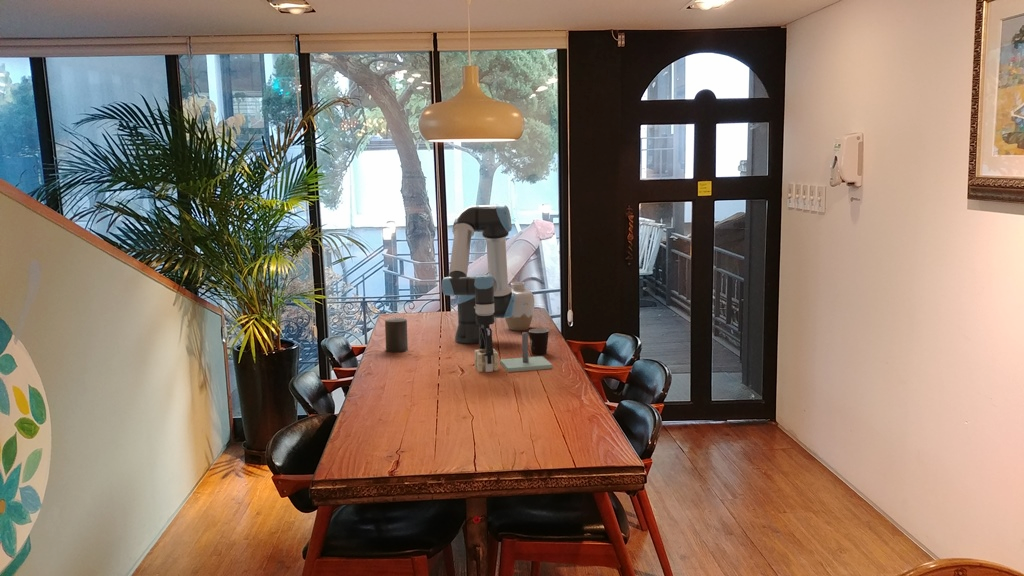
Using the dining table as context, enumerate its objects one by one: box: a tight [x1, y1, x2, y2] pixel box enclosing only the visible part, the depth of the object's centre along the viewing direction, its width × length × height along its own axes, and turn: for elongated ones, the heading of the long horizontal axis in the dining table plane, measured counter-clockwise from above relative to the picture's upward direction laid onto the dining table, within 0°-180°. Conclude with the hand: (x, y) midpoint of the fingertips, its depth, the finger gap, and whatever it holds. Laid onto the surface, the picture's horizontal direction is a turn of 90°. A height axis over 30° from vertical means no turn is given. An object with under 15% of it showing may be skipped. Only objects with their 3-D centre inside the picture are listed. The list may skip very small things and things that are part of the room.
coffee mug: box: [528, 328, 550, 356], centre depth 346 cm, size 12×9×10 cm
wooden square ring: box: [474, 348, 499, 373], centre depth 322 cm, size 8×8×7 cm
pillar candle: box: [384, 316, 409, 353], centre depth 358 cm, size 10×10×15 cm
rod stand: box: [499, 331, 553, 373], centre depth 324 cm, size 15×18×14 cm
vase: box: [504, 281, 535, 332], centre depth 395 cm, size 16×16×23 cm
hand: (486, 368), depth 322 cm, fingers open, 10 cm apart
